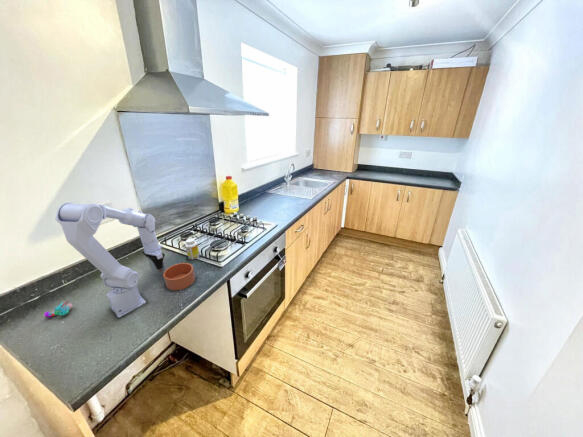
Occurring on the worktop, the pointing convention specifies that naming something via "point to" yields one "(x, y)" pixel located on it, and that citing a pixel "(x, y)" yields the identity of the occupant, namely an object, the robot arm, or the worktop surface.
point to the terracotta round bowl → (179, 276)
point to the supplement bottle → (192, 248)
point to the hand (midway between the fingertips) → (157, 266)
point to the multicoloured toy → (63, 310)
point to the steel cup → (153, 267)
